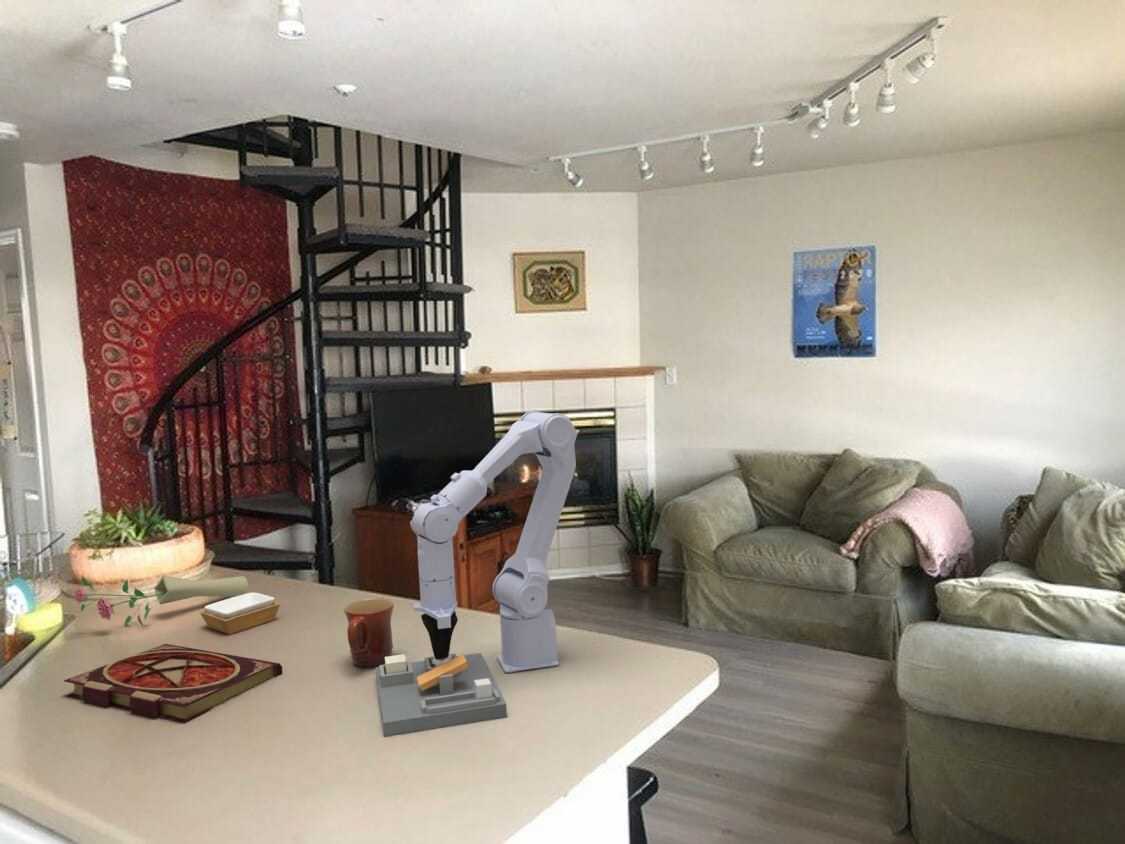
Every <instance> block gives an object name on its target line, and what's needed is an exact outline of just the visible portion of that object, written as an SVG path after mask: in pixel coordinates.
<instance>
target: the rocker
mask: <svg viewBox="0 0 1125 844" xmlns="http://www.w3.org/2000/svg"><path fill="white" fill-rule="evenodd" d="M464 655H465V654H464V653H462V654H460V655H457V656H458V657H456V658H454V659H452V660H450V661H448V662H446V663H444V664H442V665H440V666H438V667H436V668H434V669H432V670H430V671H428V672H426V673H424V674H422V675H420V676H418V677H417V680H418V684H419V687H420V689H421V691H423V690H425V689H427V688H429V687H431V686H433V685H435V684H437V683H439V676H442V675H449V674H452V675H455V674H457V673H459V672H460V671H462V670H464V669H466V668H468V667H469V666H468V663H467V661H466V659H465V657H464Z"/></svg>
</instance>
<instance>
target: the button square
mask: <svg viewBox="0 0 1125 844" xmlns="http://www.w3.org/2000/svg"><path fill="white" fill-rule="evenodd" d="M406 661H407V659H406V655H405V654H398V655H397V654H396V655H392V656H388V657H385V664H384V665H385V668H386V674H393V673H400V672H407V667H406Z"/></svg>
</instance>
